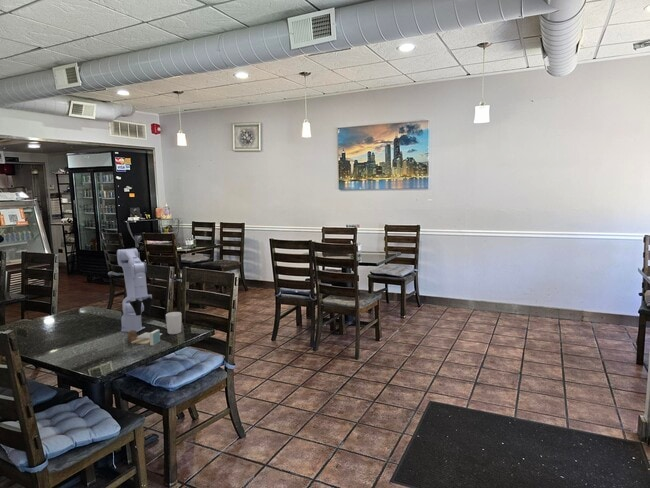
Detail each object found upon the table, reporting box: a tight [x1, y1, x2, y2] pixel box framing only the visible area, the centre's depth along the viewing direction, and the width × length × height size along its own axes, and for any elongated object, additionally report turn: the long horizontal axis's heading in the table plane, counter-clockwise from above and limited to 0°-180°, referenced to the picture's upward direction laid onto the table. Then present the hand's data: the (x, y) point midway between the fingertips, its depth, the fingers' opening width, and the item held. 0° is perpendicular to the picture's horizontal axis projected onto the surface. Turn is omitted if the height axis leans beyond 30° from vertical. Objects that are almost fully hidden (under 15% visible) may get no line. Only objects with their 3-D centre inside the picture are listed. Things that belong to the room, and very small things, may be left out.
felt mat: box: [137, 332, 163, 339], centre depth 220 cm, size 10×8×1 cm
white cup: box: [165, 311, 183, 335], centre depth 225 cm, size 8×8×10 cm
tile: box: [149, 329, 161, 346], centre depth 209 cm, size 2×6×6 cm, turn 169°
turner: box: [127, 330, 150, 345], centre depth 212 cm, size 11×6×5 cm, turn 79°
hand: (143, 314), depth 211 cm, fingers open, 7 cm apart
